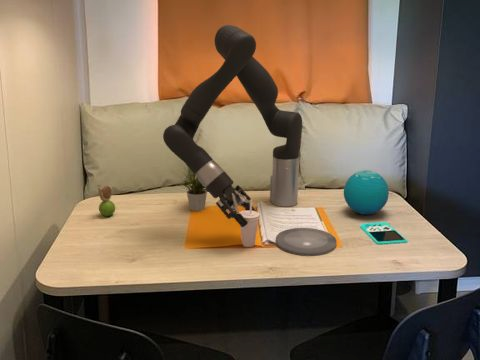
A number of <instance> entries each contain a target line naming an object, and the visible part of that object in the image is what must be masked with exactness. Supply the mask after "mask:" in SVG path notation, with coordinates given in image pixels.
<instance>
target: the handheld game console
mask: <svg viewBox="0 0 480 360" xmlns="http://www.w3.org/2000/svg"><path fill="white" fill-rule="evenodd" d="M359 228H360V229H361V230H362V231H363V232H364V233H365V234H366V235H367V236H368V237H369V238H370V239H371V240H372V241H373V242H374V243H375V244H376V245H377V246H379V245H393V244H394V245H395V244H408V242H409V241H408V239H406V238H405V237H404V236H403V235H402V234H401V233H400V232H399V231H397V230H396V229H395V228H394V227H392V225H391V224H389V223H388V222H387V221H381V222H380V221H379V222H367V223H362V224H360V225H359Z"/></svg>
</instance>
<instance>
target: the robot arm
mask: <svg viewBox="0 0 480 360" xmlns="http://www.w3.org/2000/svg"><path fill="white" fill-rule="evenodd" d="M214 47H215V51H217V53H218V54H219V56H221V57H222V58H223V59H224V61H223V63H222V65H221V66H220V67H219V69H218V70H217V71H216V72H214V74H212V75H210V77H208V78H207V79H205V80H203V81H202V82H200V83H199V84H198V85H197V86H196V87H195V88H194V89H193V90H192V92H191V93H190V94H189V96H188V97H187V99H186V101H185V102H184V104H183V105H182V107H181V110H180V115H179V117H178V118H177V120H176V122H175V124H171V125H169V126H168V127H166V128H165V130H164V131H163V134H162V135H163V136H162V138H163V142H164V144H165V145H166V147H167V148H168V149H169V150H170V151H171V152H172V153H173V154H174V155H175V156H176V157H178V159H180V160H181V161H182V162H183V163H184V164H185V165H186V166H187V167H189V168H188V170H189V169H190V170H191V171H192V172H193V173H194V174H195V178H196V177H197V178H198V180H199V181H200V183H201V184H202V185H203V186H204V187H205V188H204V189H205V190H206V191H207V193H209V194H210V195H211V196H212V198H214V199H217V198H218V199H219V200H217V201H216V202H215V204H216V206H217V207H218V208H219V210H221V212H222V213H223V214H224V216H225V217H226V218H227V219H229V220H230V219H234V220H235V221H236V222H237V224H238V225H239V227H240V226H241V227H244V226H245V225H247V224H248V222H247V221H246V219H245V218H244V217H243V216H242V215H241V214H240V213H239V212H240V211H239V209H238V207H239V206H240V207H242V208H244V211H246V210H250V200H252V199H251V197H250V196H249V195H248V194H247V192H246V191H245V190H244V189H243V188H242V187H241V186H240V185H239V184H237V185H236V186H235V187H234V186H232V185H233V184H234V180H233V179H232V178H231V176H229V174H228V173H227V172H226V171H225V170H224V169H223V168H222V166H220V164H219V163H217V162H216V160H215V159H213V158H212V156H211V155H210V154H209V153H208V152H207V151H206V149H204V148H203V147H202V146H200V145H198V144H197V143H196V142H195V141H194V140H193V139H194V138H195V135H196V133H197V131H198V130H199V127H200V124H201V123H202V121H203V120H204V119H205V118H206V115H208V112H209V111H210V110H211V108H212V106H213V105H214V103H215V102H216V100H217V99H218V97H219V96H220V95H221V94H222V93H223V92H224V90H225V89H226V88H227V87H228V86H229V85H230V84H231V82H232V81H233V80H234V79H235V78H237V79H238V81H239V82H240V84H241V85H242V87H243V88H244V90H245V92H246V93H247V95H248V97H249V98H250V100H251V101H252V102H253V103H254V106H255V107H256V109H257V110H258V111H259V113H260V115H261V117H262V119H263V121H264V123H265V125H266V127H267V129H268V131H269V133H270V134H271V135H272V136H274V137H277V138H278V137H279V138H285V139H286V141H285V144H282V145H279V146H275V147H274V148H273V149H272V175H271V176H270V177H269V179H270V181H269V182H270V185H269V189H270V190H269V201H270V202H271V204H273V205H274V206H278V207H284V208H285V207H287V208H288V207H293V206H296V205H297V204H298V199H299V198H298V194H299V193H298V192H299V169H300V167H299V166H300V152H301V147H302V146H301V145H302V133H303V118H302V115H301V113H299V112H297V111H290V110H289V111H288V110H281V109H280V108H278V107H277V105H276V102H277V99H278V97H279V96H278V95H279V89H278V86H277V84H276V82H275V80H274V78H273V76H272V75H271V74H270V73H269V71H268V70H267V69H266V68H265V67H264V66H263V65H262V64H261V63H260V62H259V61H258V60H257V59H256V58H255V57H254V55H255V52H256V49H257V41H256V39H255V37H254V36H253V35H252V34H250V33H248V32H246V31H245V30H243V29H242V28H240V27H238V26H235V25H232V24H231V25H230V24H226V25H223V26H221V27H220V28H218V29H217V31H216V34H215V36H214ZM252 211H256V212H258V211H257V210H256V208H254V206H252Z"/></svg>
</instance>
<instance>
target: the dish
mask: <svg viewBox="0 0 480 360" xmlns="http://www.w3.org/2000/svg"><path fill="white" fill-rule="evenodd" d="M275 245H276V246H277V248H279V249H280V250H282V251H284V252H285V253H288V254H293V255H297V256H303V257H304V256H306V257H309V256H310V257H312V256H321V255H326V254H328V253H332V252H333V251H335V249H336V248H337V239H336V236H334V235H333V234H331V233H330V232H328V231H326V230H321V229H318V228H312V227H311V228H310V227H294V228H289V229H285V230H282V231H280V232H279V233H278V234H276V237H275Z"/></svg>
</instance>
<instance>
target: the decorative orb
mask: <svg viewBox="0 0 480 360" xmlns="http://www.w3.org/2000/svg"><path fill="white" fill-rule="evenodd" d="M389 188H390V187H389V186H388V183H387V181H386V180H385V178H384V177H383V176H382V175H381V174H380V173H377V172H375V171H372V170H366V169H365V170H364V169H363V170H360V171H357V172H355V173H353V174H352V175H350V176H349V177H348V179H347V180H346V182H345V185H344V187H343V198H344V200H345V203H346V204H347V206H348V207H349V208H350V210H352V211H353V212H355V213H357V214H358V215H359V214H360V215H372V214H376V213H378V212H380V210H382V209H383V208H384V207H385V206H386V204H387V202H388V199H389V194H390V191H389Z"/></svg>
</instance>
